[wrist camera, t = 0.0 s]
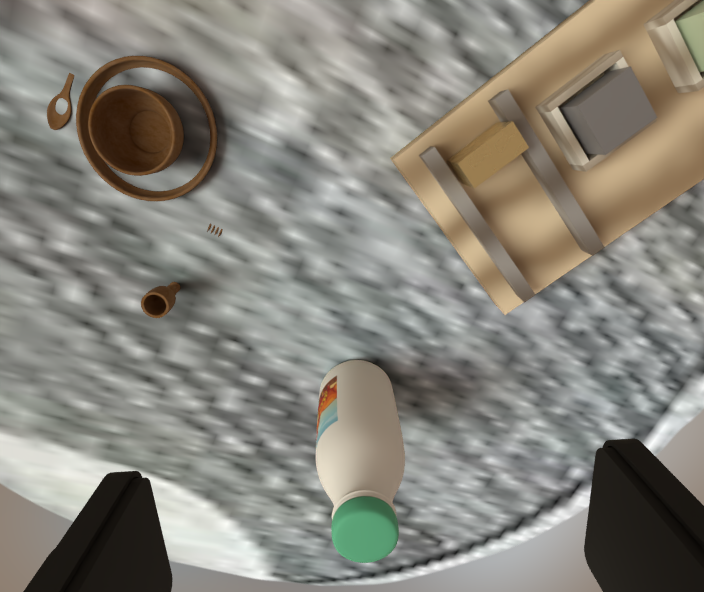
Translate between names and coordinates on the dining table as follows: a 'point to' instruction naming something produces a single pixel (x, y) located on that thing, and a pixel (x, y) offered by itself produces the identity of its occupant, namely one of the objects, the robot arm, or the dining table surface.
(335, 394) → the milk bottle
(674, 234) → the dining table surface
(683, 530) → the robot arm
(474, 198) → the control panel
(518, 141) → the brass lever
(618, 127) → the charcoal button
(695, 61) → the green button
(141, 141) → the place setting
